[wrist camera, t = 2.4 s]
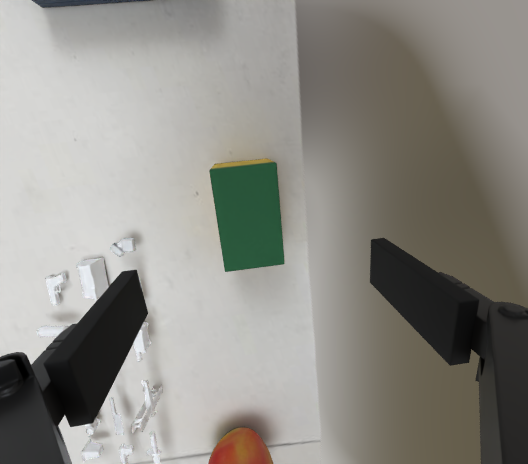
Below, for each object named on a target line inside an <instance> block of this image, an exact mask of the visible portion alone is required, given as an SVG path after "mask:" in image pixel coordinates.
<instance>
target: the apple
mask: <svg viewBox="0 0 528 464" xmlns="http://www.w3.org/2000/svg"><path fill="white" fill-rule="evenodd" d="M208 464H273V461H272V458H271V455H270V452H269V450H268V448H267V446H266V445H265V443H264V442H263V440H262V439H261V438H260V436H259V435H258V434H257V433H256V432H255V431H253V430H252V429H250V428H245V427H240V428H235V429H233V430H232V431H230V432H229V433H227V434H226V435H225V436H224V437H223V438H222V439H221V440H220V441H219V442H218V444H217V445H216V447H215V448H214V450H213V452H212V454H211V457H210V459H209V463H208Z"/></svg>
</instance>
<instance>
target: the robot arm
mask: <svg viewBox="0 0 528 464" xmlns="http://www.w3.org/2000/svg"><path fill="white" fill-rule="evenodd" d="M370 283H371V284H372V285H373V286H374V287H375V288H376V289H377V290H378V291H379V292H380V293H381V294H382V295H383V296H384V297H385V298H386V300H387V301H388V302H389V303H390V304H391V305H392V306H393V307H394V308H395V309H396V310H397V311H398V312H399V313H400V314H401V315H402V316H403V317H404V318H405V319H406V320H407V321H408V322H409V323H410V324H411V325H412V326H413V328H414V329H415V330H416V331H417V332H419V334H420V335H421V336H422V337H423V338H424V339H425V340H426V341H427V342H428V343H429V344H430V345H431V346H432V347H433V348H434V349H435V351H436V352H437V353H438V354H439V355H440V356H441V357H442V358H443V359H444V360H445V361H446V362H447V363H448V364H449V365H457V364H463V363H469V359H470V354H471V349H472V350H473V351H474V352H476V353H477V354H478V355H479V356H480V359H479V365H478V370H477V375H476V381H478V382H479V401H480V402H479V404H480V440H481V441H480V443H481V464H528V308H525V307H523V306H520V305H517V304H513V303H508V302H493V301H492V300H490V299H488V298H487V297H485V296H483V295H482V294H480V293H479V292H477V291H475V290H474V289H472V288H470V287H469V286H467V285H466V284H463V283H462V282H461V281H459V280H458V279H456V278H454V277H453V276H450V275H447V274H444V273H442V272H439V273H438V272H436V271H435V270H433V269H431V268H430V267H428V266H427V265H425V264H424V263H422V262H421V261H419V260H417V259H416V258H414V257H413V256H411V255H410V254H408V253H407V252H405V251H404V250H402V249H400V248H399V247H397V246H396V245H394V244H393V243H391V242H390V241H388V240H386V239H385V238H380V239H372V240H371V266H370ZM147 315H148V311H147V307H146V303H145V299H144V296H143V292H142V288H141V284H140V280H139V277H138V273H137V270H131V271H123V272H121V274H120V275H119V276H118V277H117V278H116V279H115V281H114V282H113V283H112V284H111V285H110V286H109V288H108V289H107V290H106V291H105V292H104V293H103V294H102V296H101V297H100V298H99V299H98V300H97V301H96V303H95V304H94V305H93V306H92V307H91V308H90V310H89V311H88V312H87V313H86V314H85V315H84V317H83V318H82V319H81V320H80V321H79V322H78V323H77V324H72V325H71V326H69V327H68V328H66V329H65V330H64V331H62V332H61V333H60V334H59V335H58V336H57V337H56V338H55V339H54V341H53V343H51V344H50V345H49V346H48V347H47V348H46V350H45V351H44V352H43V353H42V354H41V355H40V356H39V357H38V358H37V359H36V360H35V361H34V363H33V364H32V365H31V364H30V362H29V360H28V358H27V355H26V354H24V353H22V352H16V353H11V354H7V355H4V356H1V357H0V464H72V462H71V459H70V456H69V454H68V451H67V448H66V445H65V442H64V440H63V437H62V434H61V431H60V429H59V427H58V425H59V423H60V422H61V420H62V418H63V417H64V415H65V416H66V418H67V420H68V423H69V425H70V427H74V426H80V425H86V424H92V423H94V421H95V419H96V417H97V415H98V413H99V411H100V409H101V407H102V405H103V403H104V401H105V399H106V397H107V395H108V393H109V391H110V389H111V387H112V385H113V383H114V381H115V379H116V377H117V375H118V373H119V371H120V369H121V367H122V365H123V363H124V361H125V359H126V357H127V355H128V353H129V351H130V349H131V347H132V345H133V343H134V341H135V339H136V337H137V335H138V333H139V331H140V329H141V327H142V325H143V323H144V321H145V319H146V317H147Z"/></svg>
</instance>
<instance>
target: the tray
mask: <svg viewBox="0 0 528 464" xmlns="http://www.w3.org/2000/svg"><path fill="white" fill-rule="evenodd" d="M32 1H33V2H35V3H36V4H38V5H39V6H41V7H43V8H44V7H58V6H73V5H88V4H103V3H118V2H133V1H148V0H32Z"/></svg>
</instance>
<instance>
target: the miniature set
mask: <svg viewBox="0 0 528 464" xmlns="http://www.w3.org/2000/svg"><path fill="white" fill-rule="evenodd" d="M118 243H119V244H117V243H114V244H112V246H111V247H110V250H111V251H112V252H113V253H114V254H116V255H117V256H119V257H121V256H123V255H124V253H125V252H134V251H136V246H135V240H134V238H124V239H122V240H120V241H119V242H118ZM120 244H121V245H120ZM76 266H77V268H78V272H79V276H80V281H81V286H82V291H83V294H82V295H83V297H84V298H88V299H94V300H97V299H98V298H100V297H101V296H102V294H103V293H104V292H105V291H106V290H107V289H108V288H109V286H108V281H107V275H106V270H105V264H104V259H103V257H100V258H98V259H88V260H84V261H81V262H78V263H77V264H76ZM138 277H139V276H138ZM45 279H46V283H47V287H48V291H49V295H50V299H51V304H52V305H58V304H60V300H59V295H58V293H60V292H61V287H60V283H64V282H66V281H67V280H66V276H65V274H64V273H62V274H60V275H58V276H57V277H53V276H48V277H46V278H45ZM139 280H140V278H139ZM140 284H141V280H140ZM57 286H58V288H59V291H58V288H57ZM141 288H142V286H141ZM148 326H149V323H147V322H146V321H145V322H144V323H143V325H142V327H141V329H140V331H139V333H138V335H137V337H136V339H135V341H134V343H133V344H134V347H133V348H134V350H135V351H136V357H137V361H138V362H139V361H141V360H142V355H141V352H142V353H145V352H146V349H147V347H148V346H149V345H151V344H152V342H151V341H149V335H148V329H147V327H148ZM68 327H69V326H42V327H40V328H39V329H38V330H37V334H38V336H39V337H57V336H58V335H59V334H60V333H61V332H62V331H64V330H65V329H66V328H68ZM148 384H149V383H148V380H147V381H144V380H142V386H143V392H145V402H144V404H143V406H142V408H141V409H140V411H139V413H138V415H137V417H136V418H135V420H134V422H133V424H132V432H131V433H134V431H135V429H136V428H139V427H141V432H143V430H144V428H145V426H146V424H147V422H148V420H149V418H150V417H153V416H154V415H155V413H156V412H157V411H156V412H155V406H156V404H157V402H158V400H159V398H160V396H161V394H162V391H163V388H162V385H161V386H160V388H159V389H157V390H155V389H154V386H153V388H152V390H151V392H150V389H149V386H148ZM155 392H157V394H156V395H154V394H155ZM153 397H155V398H154V400H153ZM109 401H110V405H111V409H112V414H113V418H114V424H115V430H116V435H124V429H123V423H122V419H121V415H120V414H119V413H116V409H115V404H114V400H113V398H112V397H111V398H109ZM146 409H147V413H146V415H145V417H144V419H141V418H142V416H143V414H144V413H145V411H146ZM100 422H101V421H100V419H98V418H96V419H95V421H94V423H92V424H86V425H85V427H86V433H87V434H90V435H89V436H88V437H90V436H91V435H92V434H93V433H94V431H95V429H96V428H97V426H98V425H99V424H100ZM139 422H141V424H140V425H138V424H139ZM150 439H151V444H152V449H149V450H148V451H147V453H146V454H147V455H151V456H153V461H154V464H160V458H159V454H160V453H161V451H160V450H158V449H157V443H156V437H155V432H154V431H152V432H150ZM103 450H104V449H103V445H102V444H100V443H95V442H91V439H89V441H88V442H87V444H86V445H85V447H84V448H83V450H82V451H81V454H82V458H83V462H85V460H86V459H92V458H98V457H100V455H101V454H102V452H103ZM133 452H134V447H133V445H125V444H122V445H121V446H120V448H119V453H120V458H121V463H122V464H128V460H127V456H128V455H129V454H133Z"/></svg>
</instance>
